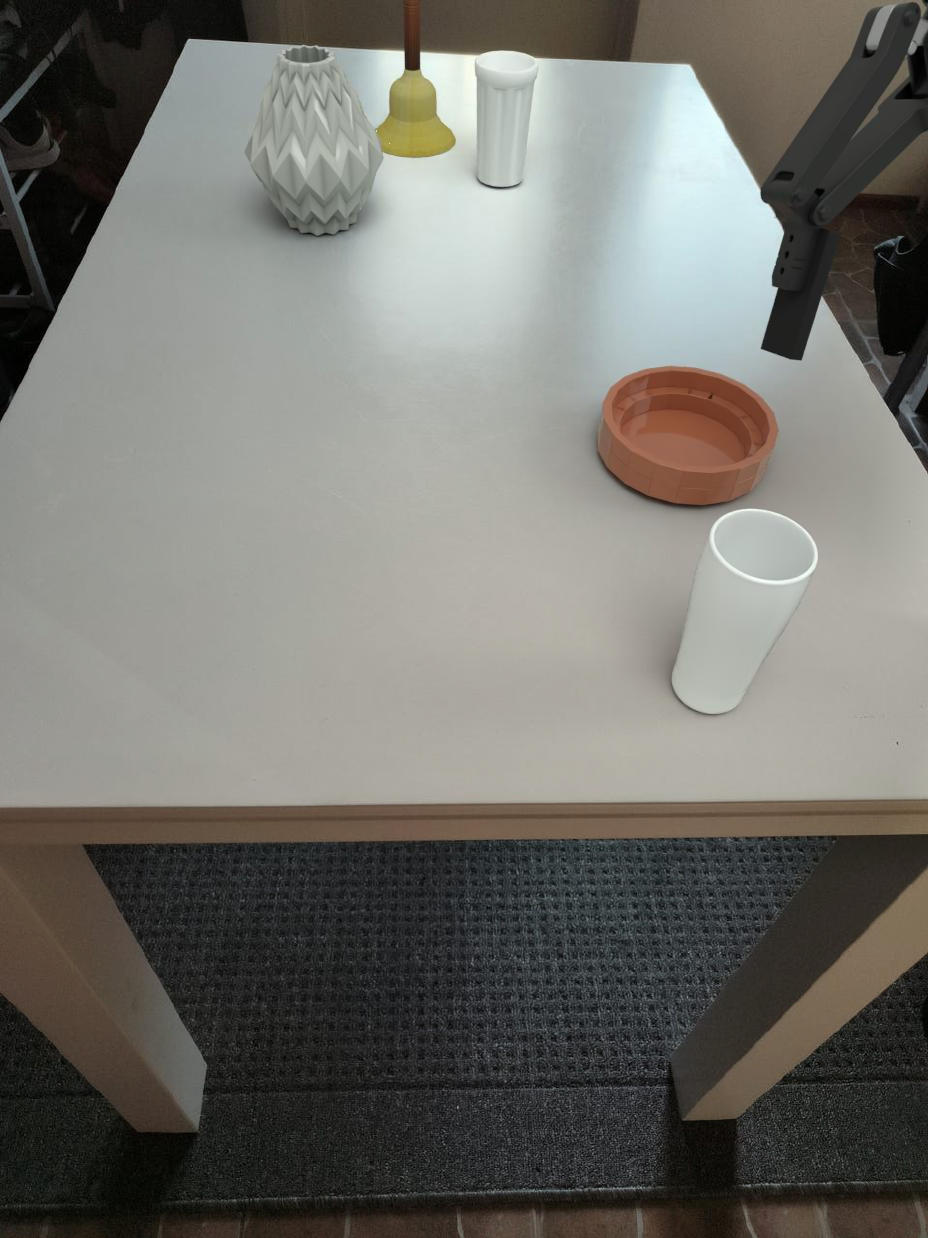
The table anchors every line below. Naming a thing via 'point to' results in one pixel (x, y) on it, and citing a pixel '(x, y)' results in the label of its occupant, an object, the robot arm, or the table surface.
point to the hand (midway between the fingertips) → (874, 365)
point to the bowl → (686, 434)
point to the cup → (503, 114)
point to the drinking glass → (740, 605)
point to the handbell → (413, 102)
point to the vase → (313, 142)
